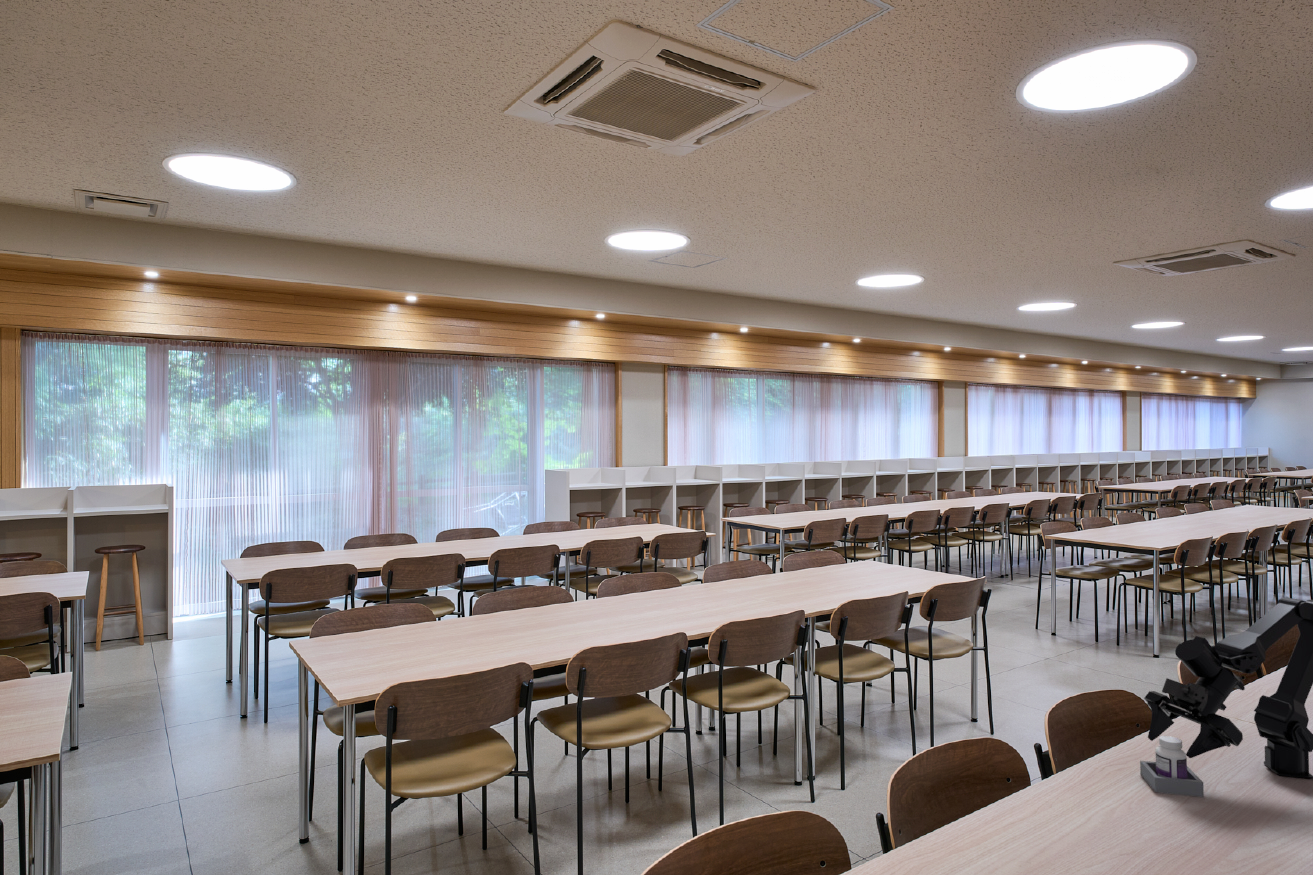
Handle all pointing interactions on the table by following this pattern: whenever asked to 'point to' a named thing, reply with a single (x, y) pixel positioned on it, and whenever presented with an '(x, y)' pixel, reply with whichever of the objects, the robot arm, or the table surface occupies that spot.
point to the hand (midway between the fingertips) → (1168, 747)
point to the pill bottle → (1171, 758)
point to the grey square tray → (1172, 781)
